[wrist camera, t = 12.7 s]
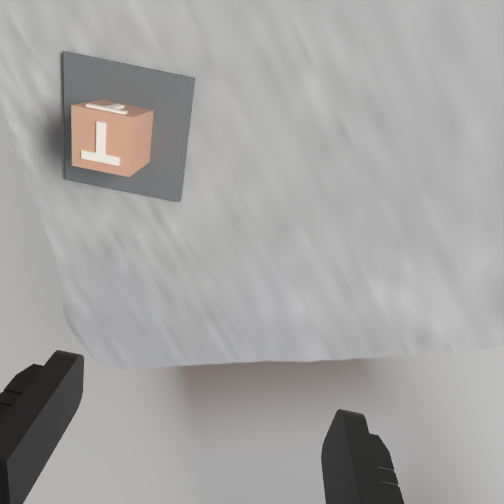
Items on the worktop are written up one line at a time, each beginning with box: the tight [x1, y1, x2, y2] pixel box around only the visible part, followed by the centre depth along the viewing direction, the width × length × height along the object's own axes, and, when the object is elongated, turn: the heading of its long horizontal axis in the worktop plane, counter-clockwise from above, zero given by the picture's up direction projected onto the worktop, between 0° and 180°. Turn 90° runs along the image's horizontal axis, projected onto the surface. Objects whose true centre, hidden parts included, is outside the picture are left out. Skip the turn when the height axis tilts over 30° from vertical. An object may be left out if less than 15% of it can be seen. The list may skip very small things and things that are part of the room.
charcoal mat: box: [63, 51, 195, 202], centre depth 39 cm, size 12×12×1 cm
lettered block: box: [71, 100, 154, 177], centre depth 35 cm, size 5×5×6 cm
